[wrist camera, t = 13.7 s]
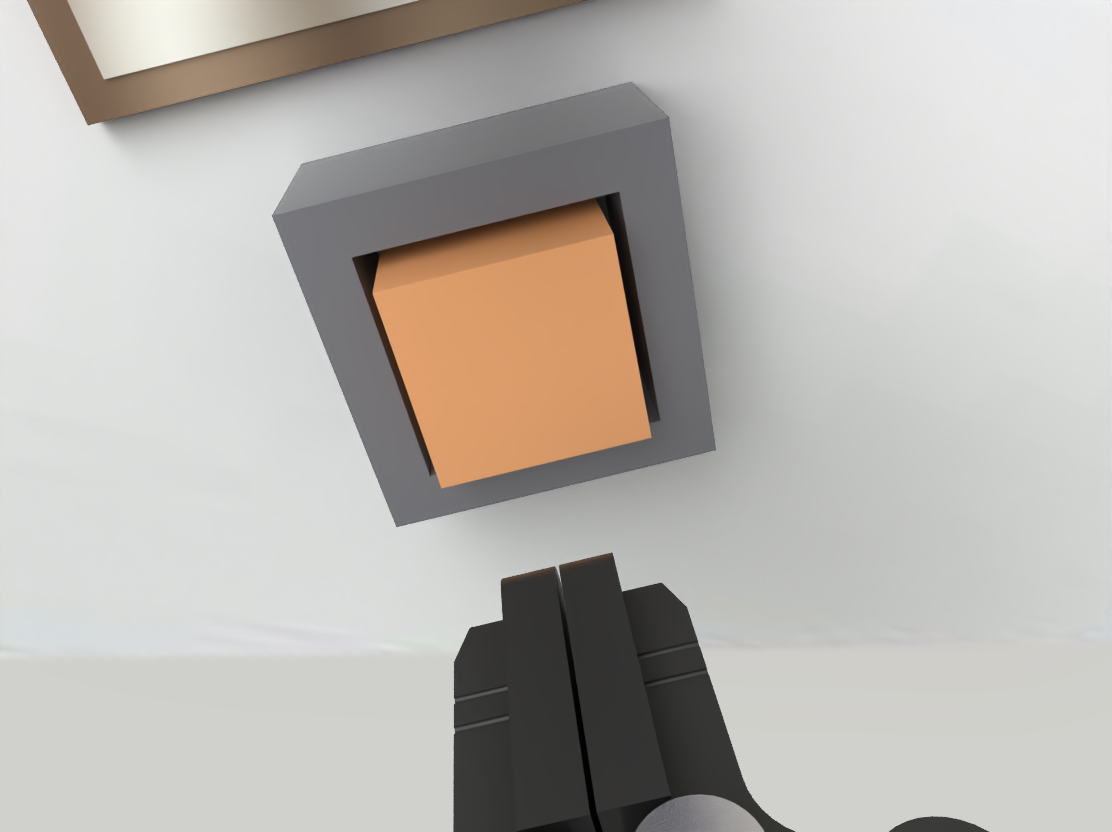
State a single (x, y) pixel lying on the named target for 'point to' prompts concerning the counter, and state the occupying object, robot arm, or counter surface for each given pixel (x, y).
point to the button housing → (482, 198)
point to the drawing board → (234, 41)
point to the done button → (514, 342)
